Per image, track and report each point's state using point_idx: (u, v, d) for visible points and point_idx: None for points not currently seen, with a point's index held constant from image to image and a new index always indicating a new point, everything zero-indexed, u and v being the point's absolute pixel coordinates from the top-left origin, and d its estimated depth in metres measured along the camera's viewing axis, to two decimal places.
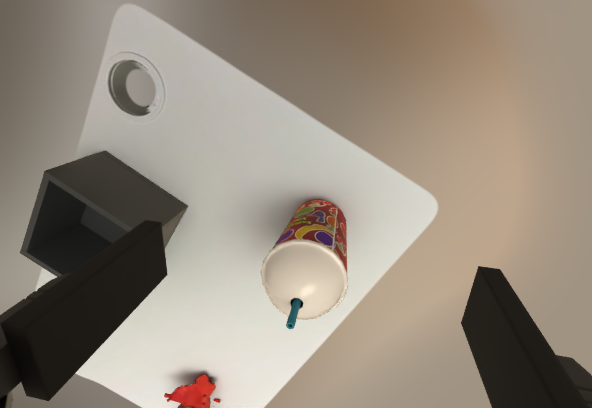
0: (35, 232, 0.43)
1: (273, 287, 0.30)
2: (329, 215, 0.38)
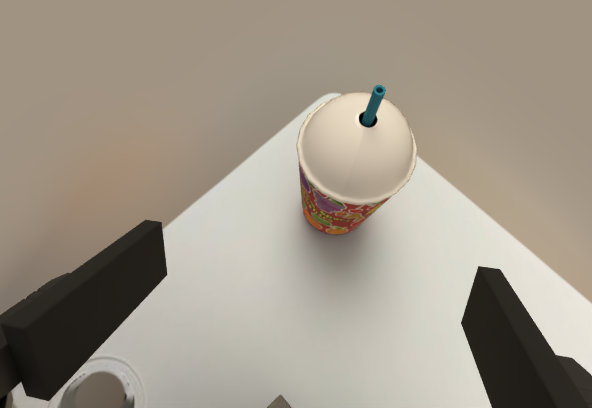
0: None
1: (345, 155, 0.21)
2: None
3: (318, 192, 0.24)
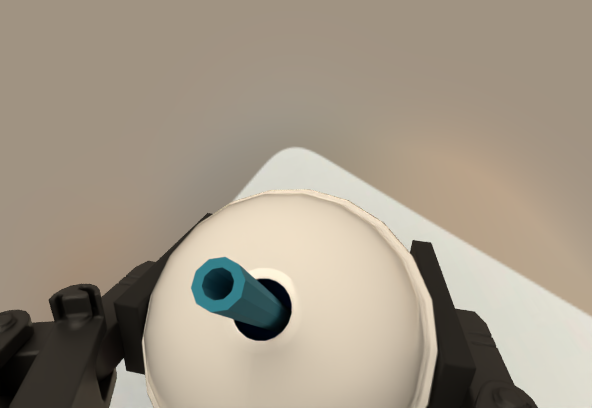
0: None
1: None
2: None
3: None
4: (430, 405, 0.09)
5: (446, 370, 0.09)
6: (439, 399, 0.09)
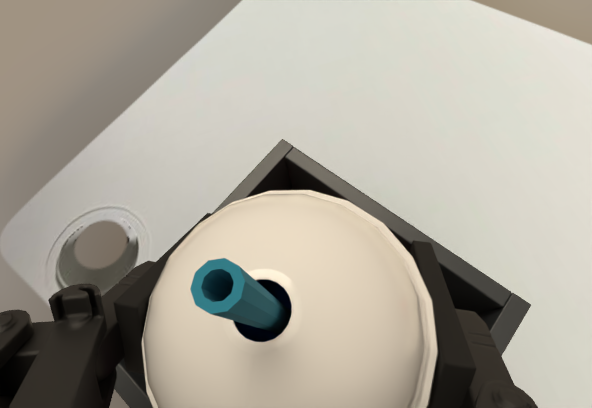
0: None
1: None
2: None
3: None
4: (430, 405, 0.09)
5: (446, 370, 0.09)
6: (439, 399, 0.09)
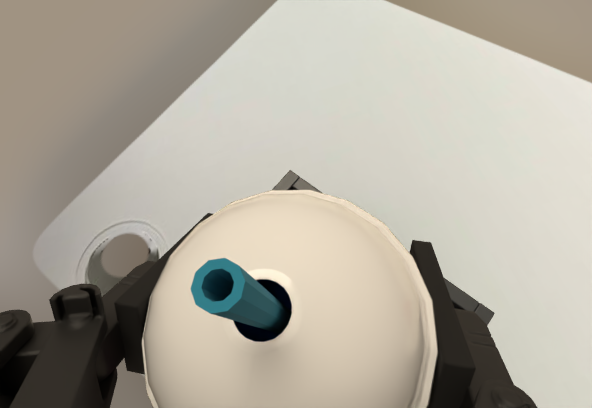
0: None
1: None
2: None
3: None
4: (430, 405, 0.09)
5: (446, 370, 0.09)
6: (439, 399, 0.09)
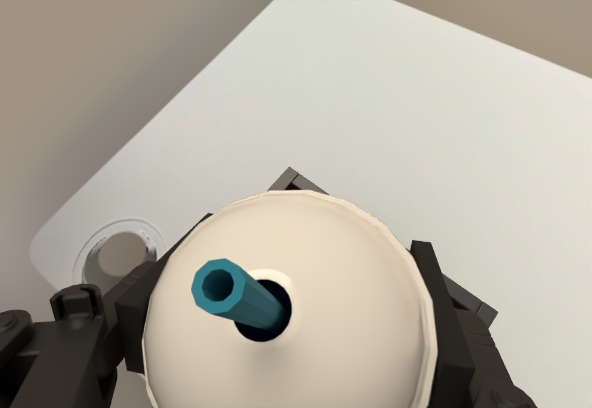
0: None
1: None
2: None
3: None
4: (429, 405, 0.09)
5: (445, 370, 0.09)
6: (438, 399, 0.09)
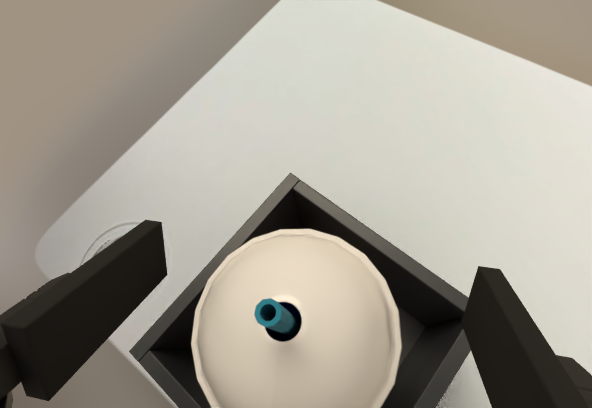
0: None
1: (253, 398, 0.10)
2: None
3: None
4: None
5: None
6: None
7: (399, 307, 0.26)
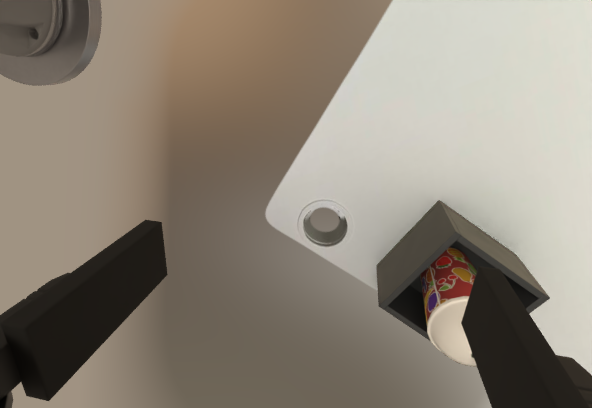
0: None
1: (463, 364, 0.36)
2: (426, 273, 0.45)
3: None
4: None
5: None
6: None
7: None
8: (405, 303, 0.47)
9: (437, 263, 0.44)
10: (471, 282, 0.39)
